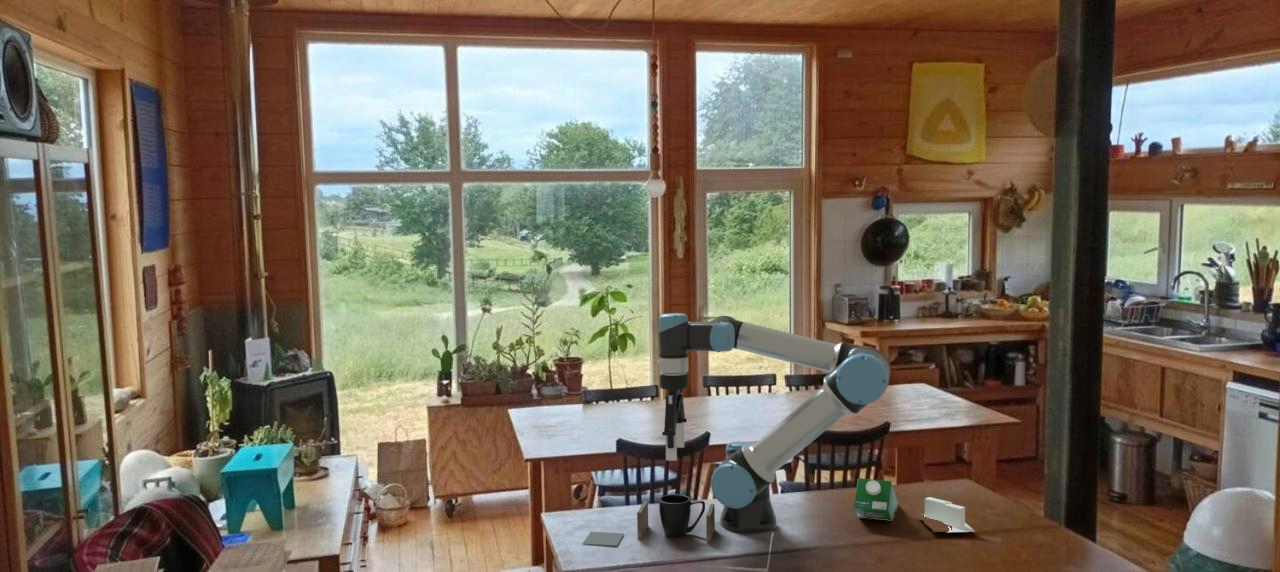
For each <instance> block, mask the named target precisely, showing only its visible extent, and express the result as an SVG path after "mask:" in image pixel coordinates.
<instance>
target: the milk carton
mask: <svg viewBox="0 0 1280 572" xmlns="http://www.w3.org/2000/svg"><path fill="white" fill-rule="evenodd" d="M856 482H857V484H856V491H855V496H854V504H853V507H854V511H855V512H856V515H857V517H858V518H859V517H866V518H878V519H888V520H892V517H893V514H894V512H895V509H896V507H897V504H898V505H899V502H898V499H897V496H896V493H895V489H894V485H893V483H892V481H891V480H884V479H882V480H881V479H872V478H857V481H856Z"/></svg>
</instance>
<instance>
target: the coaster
mask: <svg viewBox="0 0 1280 572" xmlns="http://www.w3.org/2000/svg"><path fill="white" fill-rule="evenodd" d="M624 536H625V533H624V532H623V533H622V532H604V531H603V532H602V531H590V532H589V533H588V535H587V536H586V538H585V539H584V540H583V542H582V544H587V545H586V546H595V545H596V547H608V546H609V547H610V548H611V547H612V548H617V547H618V546H619V544H620V543H621V541H622V539H623V538H624ZM588 544H589V545H588ZM609 547H608V548H609Z"/></svg>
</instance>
